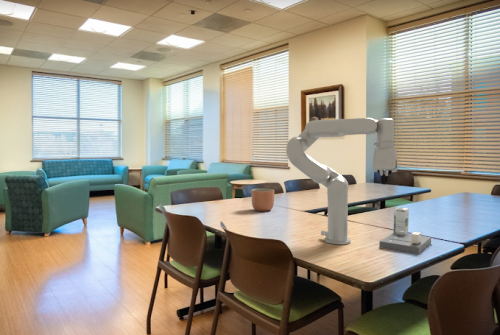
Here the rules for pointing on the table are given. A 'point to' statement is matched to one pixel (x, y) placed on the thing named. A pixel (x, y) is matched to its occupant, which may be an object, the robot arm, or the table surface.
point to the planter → (262, 199)
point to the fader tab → (416, 237)
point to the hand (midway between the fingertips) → (384, 184)
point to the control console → (404, 243)
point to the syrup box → (401, 219)
